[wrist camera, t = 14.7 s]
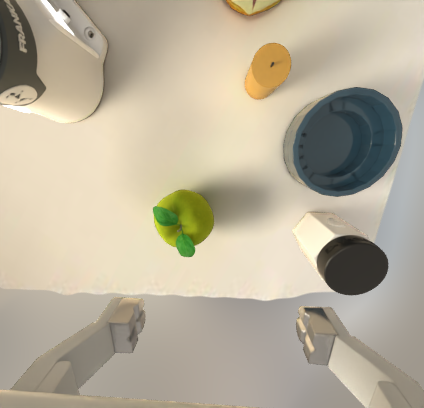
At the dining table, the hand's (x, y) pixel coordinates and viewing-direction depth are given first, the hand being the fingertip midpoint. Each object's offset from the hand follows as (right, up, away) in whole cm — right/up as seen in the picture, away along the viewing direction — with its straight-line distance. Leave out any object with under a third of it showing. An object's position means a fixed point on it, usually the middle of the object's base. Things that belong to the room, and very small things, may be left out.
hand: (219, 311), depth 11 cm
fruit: (-5, +5, +27) cm, 28 cm away
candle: (+7, +24, +20) cm, 33 cm away
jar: (+19, 0, +28) cm, 34 cm away
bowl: (+19, +15, +23) cm, 33 cm away
